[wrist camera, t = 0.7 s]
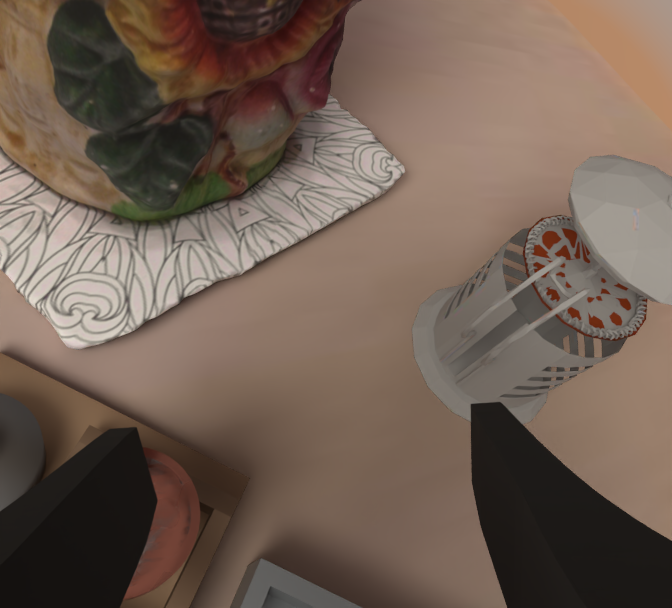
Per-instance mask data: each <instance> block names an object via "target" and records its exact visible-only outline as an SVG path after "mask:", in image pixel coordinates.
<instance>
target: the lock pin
mask: <svg viewBox="0 0 672 608" xmlns="http://www.w3.org/2000/svg"><path fill="white" fill-rule="evenodd" d="M143 451H144V454H145V458H146V461H147V465H148V468H149V472H150V475H151V479H152V482H153V485H154V489H155V492H156V496H157V499H158V502H157V506H156V510H155V514H154V518H153V522H152V526H151V529H150V533H149V536H148V540H147V543H146V546H145V548H144V551H143V553H142V556H141V558H140V561H139V563H138V565H137V568H136V570H135V573H134V575H133V578H132V580H131V582H130V585H129V587H128V589H127V592H126V594H125V596H124V599H123V601H125V600H129V599H134V598H137V597H140V596H143V595H145V594H147V593H149V592H151V591H153V590H155V589H156V588H158V587H159V586H161V585H162V584H163V583H164V582H166V581H167V580H168V579H169V578H170V577H171V576H172V575H173V574H174V573H175V572H176V571H177V570H178V569H179V568H180V567H181V566H182V564H183V563H184V562H185V560H186V559H187V557H188V556H189V554H190V552H191V550H192V548H193V546H194V543H195V541H196V538H197V534H198V531H199V524H200V504H199V499H198V495H197V491H196V489H195V486H194V484H193V482H192V480H191V478H190V477H189V475H188V474H187V473H186V471H185V470H184V469H183V468H182V467H181V466H180V465H179V464H178V463H177V462H176V461H174V460H173V459H172V458H170V457H169V456H167V455H165V454H164V453H161V452H159V451H156V450H153V449H150V448H146V447H143Z"/></svg>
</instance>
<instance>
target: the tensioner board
mask: <svg viewBox="0 0 672 608" xmlns="http://www.w3.org/2000/svg"><path fill="white" fill-rule="evenodd" d="M129 427H137V430H138V433H139V437H140V440H141V444H142V447H146V448H150V449H153V450H156V451H159V452H161V453H164V454H165V455H167V456H169V457H170V458H172V459H173V460H174V461H176V462H177V463H178V464H179V465H180V466H181V467H182V468H183V469H184V470H185V471H186V473H187V474H188V475H189V477H190V478H191V480H192V482H193V484H194V486H195V489H196V491H197V495H198V499H199V504H200V524H199V531H198V534H197V538H196V541H195V543H194V546H193V548H192V550H191V552H190V554H189V556H188V557H187V559H186V560H185V562H184V563H183V564H182V566H181V567H180V568H179V569H178V570H177V571H176V572H175V573H174V574H173V575H172V576H171V577H170V578H169V579H168V580H167V581H166V582H164V583H163V584H162V585H161V586H159V587H158V588H156V589H155V590H153V591H151V592H149V593H147V594H145V595H143V596H140V597H137V598H134V599H129V600H125V601H122V604H121V606H120V608H189V607H190V605H191V603H192V601H193V599H194V597H195V594H196V592H197V590H198V588H199V586H200V584H201V582H202V579H203V577H204V575H205V573H206V571H207V569H208V567H209V565H210V562H211V560H212V558H213V556H214V554H215V552H216V550H217V548H218V545H219V543H220V541H221V539H222V537H223V535H224V533H225V530H226V528H227V526H228V524H229V522H230V520H231V518H232V516H233V513H234V511H235V509H236V507H237V505H238V503H239V501H240V499H241V496H242V494H243V492H244V490H245V488H246V486H247V484H248V481H249V479H250V478H249V477H247V476H245V475H243V474H241V473H239V472H237V471H235V470H233V469H231V468H229V467H227V466H225V465H223V464H221V463H219V462H217V461H215V460H213V459H211V458H209V457H207V456H205V455H203V454H201V453H199V452H197V451H195V450H193V449H191V448H189V447H187V446H185V445H183V444H181V443H179V442H177V441H175V440H173V439H171V438H169V437H167V436H165V435H163V434H161V433H159V432H157V431H155V430H153V429H151V428H149V427H147V426H145V425H143V424H141V423H139V422H137V421H135V420H133V419H131V418H129V417H127V416H125V415H123V414H121V413H119V412H117V411H115V410H113V409H111V408H109V407H107V406H105V405H103V404H102V403H100V402H98V401H96V400H94V399H92V398H90V397H88V396H86V395H84V394H82V393H80V392H78V391H76V390H74V389H72V388H70V387H68V386H66V385H64V384H62V383H60V382H58V381H56V380H54V379H52V378H50V377H48V376H46V375H44V374H42V373H40V372H38V371H36V370H34V369H32V368H30V367H28V366H26V365H24V364H22V363H20V362H18V361H16V360H14V359H12V358H10V357H8V356H6V355H4V354H2V353H0V511H1V510H3V509H4V508H6V507H7V506H8V505H10V504H11V503H12V502H14V501H15V500H17V499H18V498H19V497H21V496H22V495H23V494H25V493H26V492H28V491H29V490H30V489H32V488H33V487H34V486H36V485H37V484H38V483H39V482H41V481H42V480H43V479H45V478H46V477H47V476H48V475H50V474H51V473H52V472H54V471H55V470H56V469H57V468H59V467H60V466H61V465H62V464H64V463H65V462H66V461H68V460H69V459H70V458H71V457H73V456H74V455H75V454H76V453H78V452H79V451H80V450H82V449H83V448H84V447H85V446H87V445H88V444H89V443H91V442H92V441H93V440H95V439H96V438H97V437H99V436H100V435H101V434H103V433H104V432H106V431H107V430H109V429H114V428H129Z"/></svg>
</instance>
